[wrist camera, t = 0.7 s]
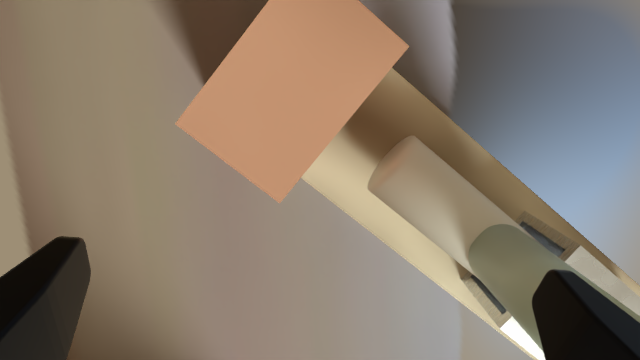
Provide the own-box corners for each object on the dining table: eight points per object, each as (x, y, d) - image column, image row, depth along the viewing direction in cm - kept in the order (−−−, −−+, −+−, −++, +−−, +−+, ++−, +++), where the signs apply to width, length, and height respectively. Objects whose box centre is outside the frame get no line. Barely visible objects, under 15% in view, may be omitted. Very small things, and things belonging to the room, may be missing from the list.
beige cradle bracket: (568, 346, 26) (776, 559, 15) (363, 181, 23) (429, 291, 12) (610, 304, 26) (858, 491, 14) (406, 131, 23) (517, 195, 12)
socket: (283, 163, 24) (279, 203, 17) (209, 106, 23) (175, 123, 16) (374, 51, 23) (409, 46, 16) (301, -13, 22) (305, -48, 15)
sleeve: (559, 357, 27) (617, 421, 22) (460, 279, 26) (499, 328, 21) (622, 295, 27) (696, 346, 22) (524, 210, 25) (580, 245, 20)
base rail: (555, 372, 29) (564, 383, 28) (213, 104, 24) (209, 106, 23) (640, 289, 28) (652, 297, 27) (300, -9, 23) (301, -13, 22)
